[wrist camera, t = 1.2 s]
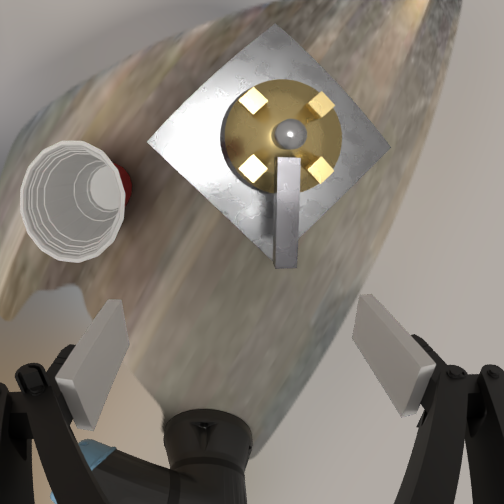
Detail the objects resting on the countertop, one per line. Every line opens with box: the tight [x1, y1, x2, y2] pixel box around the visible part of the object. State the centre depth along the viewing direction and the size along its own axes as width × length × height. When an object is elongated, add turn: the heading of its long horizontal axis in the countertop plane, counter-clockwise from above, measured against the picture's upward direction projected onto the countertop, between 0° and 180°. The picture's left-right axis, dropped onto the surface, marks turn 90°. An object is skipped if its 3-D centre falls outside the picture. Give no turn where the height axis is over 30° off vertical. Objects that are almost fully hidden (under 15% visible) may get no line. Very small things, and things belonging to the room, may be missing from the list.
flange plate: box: [147, 24, 391, 260], centre depth 33 cm, size 20×20×4 cm
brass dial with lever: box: [225, 79, 342, 269], centre depth 29 cm, size 18×11×6 cm, turn 0°
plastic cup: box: [20, 141, 132, 263], centre depth 29 cm, size 11×11×12 cm
